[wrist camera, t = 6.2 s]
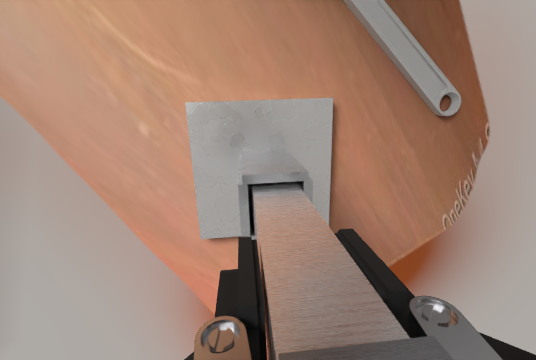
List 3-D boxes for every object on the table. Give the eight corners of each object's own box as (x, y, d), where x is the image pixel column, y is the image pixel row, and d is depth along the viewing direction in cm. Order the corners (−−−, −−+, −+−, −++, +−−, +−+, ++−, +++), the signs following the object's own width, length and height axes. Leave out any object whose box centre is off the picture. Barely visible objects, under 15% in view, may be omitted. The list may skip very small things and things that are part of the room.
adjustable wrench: (455, 102, 29) (469, 102, 27) (409, 143, 30) (419, 145, 28) (310, -123, 22) (316, -142, 20) (255, -63, 23) (256, -76, 21)
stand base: (188, 102, 26) (148, 100, 15) (328, 98, 27) (389, 93, 16) (202, 232, 30) (180, 308, 18) (324, 223, 31) (371, 289, 20)
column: (249, 162, 21) (285, 401, 4) (286, 160, 21) (468, 377, 4) (252, 213, 22) (288, 562, 5) (287, 210, 22) (430, 536, 5)
